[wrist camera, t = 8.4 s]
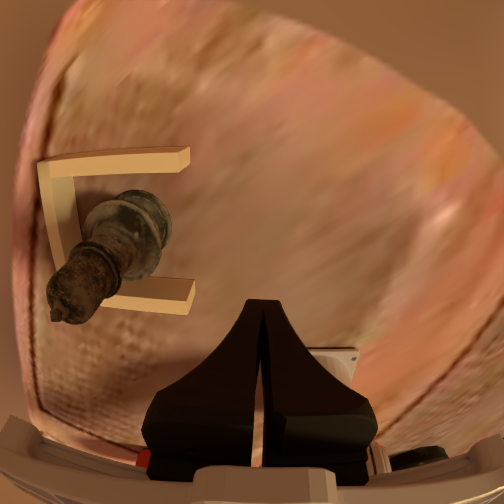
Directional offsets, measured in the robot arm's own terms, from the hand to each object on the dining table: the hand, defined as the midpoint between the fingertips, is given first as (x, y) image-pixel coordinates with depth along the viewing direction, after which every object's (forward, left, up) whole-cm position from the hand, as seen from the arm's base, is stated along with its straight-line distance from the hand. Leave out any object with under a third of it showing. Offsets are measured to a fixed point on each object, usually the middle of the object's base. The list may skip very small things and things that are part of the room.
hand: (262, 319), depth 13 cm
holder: (0, +10, -10) cm, 15 cm away
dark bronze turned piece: (0, +9, -11) cm, 14 cm away
